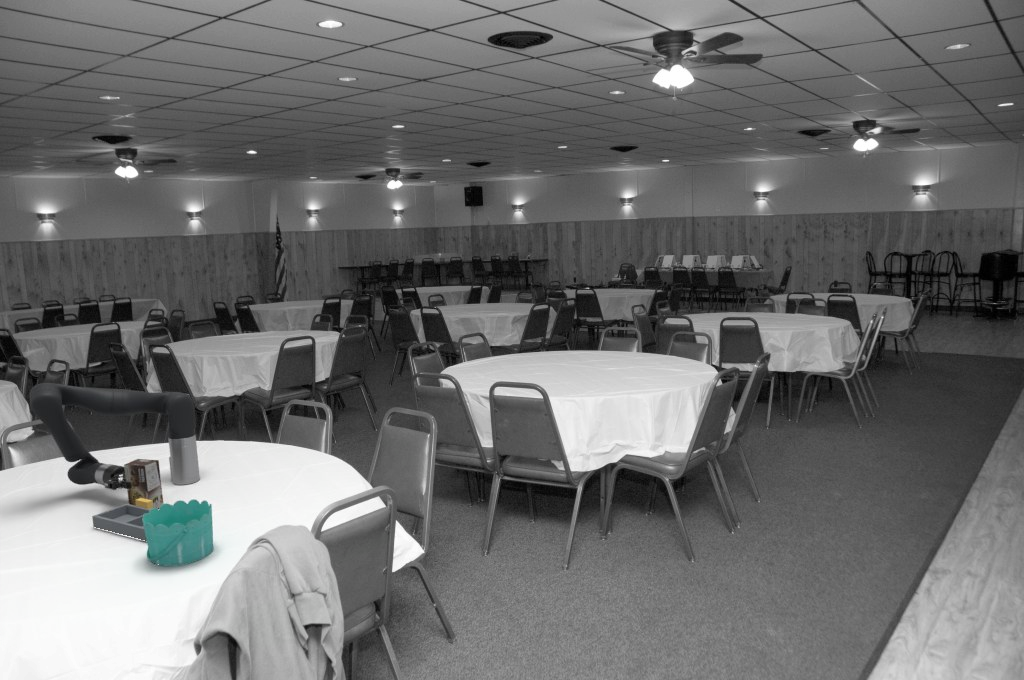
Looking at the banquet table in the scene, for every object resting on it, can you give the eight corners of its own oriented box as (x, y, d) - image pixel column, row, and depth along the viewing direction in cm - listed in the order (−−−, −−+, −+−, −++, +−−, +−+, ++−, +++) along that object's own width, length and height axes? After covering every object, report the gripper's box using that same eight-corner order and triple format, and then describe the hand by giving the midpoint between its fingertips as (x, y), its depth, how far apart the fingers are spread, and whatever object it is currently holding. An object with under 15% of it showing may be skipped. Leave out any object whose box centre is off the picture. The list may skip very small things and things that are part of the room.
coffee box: (164, 506, 264) (159, 459, 262) (150, 512, 258) (145, 465, 256) (143, 503, 267) (138, 458, 265) (128, 510, 261) (123, 463, 259)
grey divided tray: (93, 528, 246) (91, 510, 245) (134, 513, 258) (132, 495, 257) (153, 544, 231) (151, 524, 231) (193, 527, 243) (191, 509, 243)
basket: (213, 562, 217) (208, 517, 215) (141, 572, 212) (136, 527, 210) (218, 536, 235) (214, 495, 233) (152, 546, 230) (147, 504, 228)
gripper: (91, 471, 263) (120, 477, 255) (130, 459, 275) (159, 465, 267) (93, 492, 264) (123, 499, 256) (132, 480, 277) (161, 486, 268)
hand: (141, 481), depth 262 cm, fingers open, 8 cm apart
